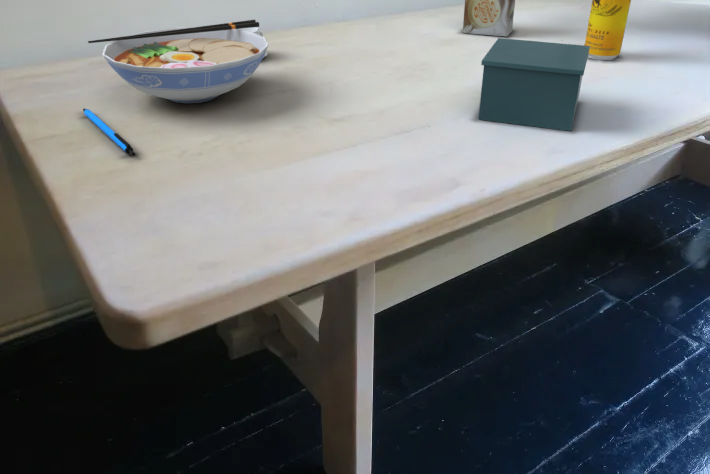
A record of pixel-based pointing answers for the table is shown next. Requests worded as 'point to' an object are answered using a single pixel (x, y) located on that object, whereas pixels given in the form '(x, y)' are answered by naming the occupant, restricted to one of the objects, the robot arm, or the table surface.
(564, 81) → the teal box
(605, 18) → the beer can
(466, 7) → the coffee box
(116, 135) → the pen
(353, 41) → the table surface
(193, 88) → the ramen bowl
